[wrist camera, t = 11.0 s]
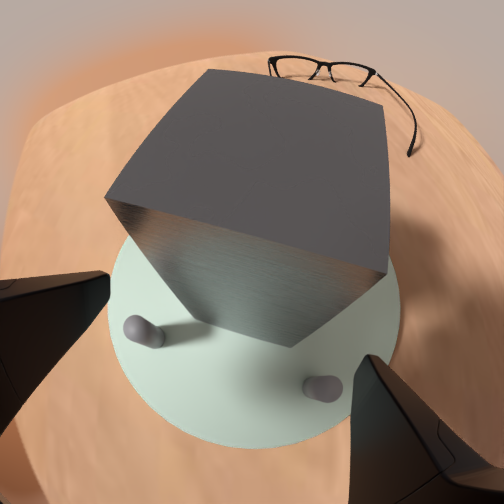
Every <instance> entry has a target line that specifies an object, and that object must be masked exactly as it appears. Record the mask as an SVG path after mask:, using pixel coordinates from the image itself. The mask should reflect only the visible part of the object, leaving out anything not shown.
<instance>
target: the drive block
mask: <svg viewBox="0 0 504 504" xmlns="http://www.w3.org/2000/svg"><path fill="white" fill-rule="evenodd" d="M104 198H105V199H106V201H107V202H108V204H109V206H110V207H111V209H112V210H113V212H114V213H115V215H116V216H117V218H118V219H119V221H120V222H121V223H122V225H123V226H124V228H125V229H126V231H127V232H128V234H129V235H130V236H131V238H132V239H133V241H134V242H135V243H136V245H137V246H138V248H139V249H140V250H141V252H142V253H143V254H144V256H145V257H146V258H147V260H148V261H149V262H150V264H151V265H152V266H153V268H154V269H155V270H156V272H157V273H158V274H159V276H160V277H161V278H162V279H163V281H164V282H165V283H166V285H167V286H168V287H169V288H170V290H171V291H172V292H173V293H174V295H175V296H176V297H177V298H178V300H179V301H180V302H181V303H182V304H183V306H184V307H185V308H186V309H187V311H188V312H189V313H190V314H191V315H192V316H193V318H194V319H196V320H199V321H202V322H205V323H208V324H211V325H214V326H217V327H220V328H223V329H226V330H229V331H232V332H236V333H239V334H242V335H245V336H249V337H252V338H256V339H259V340H262V341H266V342H270V343H273V344H277V345H281V346H284V347H288V348H292V347H293V346H295V345H296V344H298V343H299V342H300V341H302V340H303V339H305V338H306V337H308V336H309V335H310V334H312V333H313V332H315V331H316V330H317V329H319V328H320V327H322V326H323V325H324V324H326V323H327V322H328V321H330V320H331V319H332V318H334V317H335V316H336V315H338V314H339V313H340V312H342V311H343V310H344V309H345V308H347V307H348V306H349V305H351V304H352V303H353V302H354V301H356V300H357V299H358V298H359V297H361V296H362V295H363V294H364V293H366V292H367V291H368V290H369V289H370V288H372V287H373V286H374V285H375V284H376V283H378V282H379V281H380V280H381V279H382V278H383V277H385V276H386V275H387V273H388V260H389V240H390V179H389V161H388V147H387V136H386V127H385V119H384V111H383V106H382V105H379V104H377V103H374V102H371V101H368V100H365V99H362V98H359V97H356V96H353V95H349V94H346V93H343V92H339V91H336V90H332V89H328V88H325V87H321V86H317V85H312V84H308V83H304V82H299V81H294V80H289V79H284V78H279V77H273V76H267V75H261V74H254V73H246V72H238V71H228V70H216V69H208V70H207V71H206V72H205V73H204V74H203V75H202V76H201V77H200V78H199V79H198V80H197V81H196V82H195V83H194V84H193V85H192V86H191V87H190V88H189V89H188V90H187V91H186V92H185V93H184V94H183V96H182V97H181V98H180V99H179V100H178V101H177V102H176V103H175V104H174V105H173V107H172V108H171V109H170V110H169V111H168V112H167V113H166V115H165V116H164V117H163V118H162V119H161V120H160V122H159V123H158V124H157V125H156V126H155V128H154V129H153V130H152V131H151V133H150V134H149V135H148V136H147V138H146V139H145V140H144V141H143V143H142V144H141V145H140V147H139V148H138V149H137V150H136V152H135V153H134V155H133V156H132V157H131V159H130V160H129V161H128V163H127V164H126V166H125V167H124V168H123V170H122V171H121V173H120V174H119V176H118V177H117V178H116V180H115V181H114V183H113V184H112V186H111V187H110V189H109V191H108V192H107V194H106V195H105V197H104Z"/></svg>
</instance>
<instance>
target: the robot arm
mask: <svg viewBox="0 0 504 504" xmlns="http://www.w3.org/2000/svg"><path fill="white" fill-rule="evenodd" d="M110 295H111V281H110V275H109V274H108V273H105V272H103V271H100V270H99V271H89V272H79V273H69V274H59V275H49V276H39V277H29V278H19V279H9V280H0V436H1V435H2V433H3V432H4V430H5V429H6V428H7V426H8V425H9V423H10V422H11V421H12V419H13V418H14V417H15V415H16V414H17V413H18V411H19V410H20V409H21V407H22V406H23V405H24V403H25V402H26V401H27V399H28V398H29V397H30V396H31V394H32V393H33V392H34V390H35V389H36V388H37V387H38V385H39V384H40V383H41V382H42V381H43V379H44V378H45V377H46V376H47V375H48V373H49V372H50V371H51V370H52V369H53V367H54V366H55V365H56V364H57V363H58V361H59V360H60V359H61V358H62V357H63V356H64V355H65V353H66V352H67V351H68V350H69V349H70V348H71V347H72V345H73V344H74V343H75V342H76V341H77V340H78V339H79V338H80V337H81V335H82V334H83V333H84V332H85V331H86V330H87V329H88V327H89V326H90V325H91V323H92V322H93V321H94V319H95V318H96V317H97V315H98V314H99V313H100V311H101V310H102V309H103V307H104V306H105V305H106V304H107V302H108V301H109V299H110ZM350 426H351V455H350V485H349V501H348V504H504V469H501V468H497V467H494V466H493V465H491V464H489V463H488V462H487V461H486V460H484V459H483V458H482V457H481V456H480V455H479V454H478V453H476V452H475V451H474V450H473V449H472V448H471V447H470V446H468V445H467V444H466V443H465V442H464V441H463V440H462V439H461V438H460V437H458V436H457V435H456V434H455V433H454V432H453V431H452V430H451V429H450V428H449V427H448V426H447V425H446V424H445V423H444V422H443V421H442V420H441V419H439V417H438V416H437V415H436V414H435V413H434V412H433V410H432V409H431V408H430V407H429V406H428V405H427V404H426V403H425V402H424V401H423V400H422V399H421V398H420V397H419V396H418V395H417V394H416V393H415V392H414V391H413V390H412V389H411V388H410V387H409V386H408V385H407V384H406V383H405V382H404V381H403V380H402V379H401V378H400V377H399V376H398V375H397V374H396V373H395V372H394V371H393V370H392V369H391V368H390V367H389V366H388V365H387V364H386V363H385V362H384V361H383V360H382V359H381V358H380V357H379V356H377V355H372V354H367V355H365V356H364V358H363V360H362V361H361V363H360V365H359V367H358V368H357V370H356V372H355V374H354V378H353V392H352V404H351V416H350ZM0 504H11V503H10V502H9V501H8V500H7V499H6V498H5V497H4V496H3V495H2V494H1V493H0Z"/></svg>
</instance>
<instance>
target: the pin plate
mask: <svg viewBox="0 0 504 504" xmlns="http://www.w3.org/2000/svg"><path fill="white" fill-rule="evenodd" d="M110 281H111V295H110V299H109V301H108V321H109V328H110V335H111V339H112V343H113V346H114V349H115V353H116V356H117V358H118V360H119V362H120V364H121V367H122V369H123V371H124V373H125V375H126V376H127V378H128V379H129V381H130V383H131V384H132V386H133V387H134V389H135V390H136V391H137V393H138V394H139V395H140V396H141V397H142V398H143V399H144V401H145V402H146V403H147V404H148V405H149V406H150V407H151V408H152V409H153V410H154V411H156V412H157V413H158V414H159V415H160V416H162V417H163V418H164V419H165V420H166V421H168V422H170V423H171V424H173V425H174V426H176V427H178V428H179V429H181V430H183V431H184V432H186V433H188V434H191V435H193V436H195V437H198V438H200V439H203V440H205V441H208V442H212V443H215V444H219V445H223V446H228V447H236V448H246V449H262V448H276V447H281V446H286V445H291V444H295V443H298V442H301V441H304V440H307V439H309V438H312V437H315V436H317V435H319V434H321V433H323V432H325V431H327V430H328V429H330V428H332V427H334V426H336V425H337V424H338V423H340V422H341V421H342V420H344V419H345V418H346V417H348V416H349V415H350V414H351V404H352V392H353V378H354V374H355V372H356V370H357V368H358V367H359V365H360V363H361V361H362V360H363V358H364V356H365V355H367V354H372V355H377V356H379V357H380V358H381V359H382V360H383V361H384V362H385V363H386V364H387V365H388V364H389V362H390V359H391V357H392V354H393V351H394V348H395V345H396V341H397V336H398V331H399V324H400V295H399V287H398V282H397V278H396V273H395V270H394V267H393V264H392V261H391V259H390V256H389V260H388V273H387V275H386V276H385V277H383V278H382V279H381V280H380V281H379V282H378V283H376V284H375V285H374V286H373V287H372V288H370V289H369V290H368V291H367V292H366V293H364V294H363V295H362V296H361V297H359V298H358V299H357V300H356V301H354V302H353V303H352V304H351V305H349V306H348V307H347V308H345V309H344V310H343V311H342V312H340V313H339V314H338V315H336V316H335V317H334V318H332V319H331V320H330V321H328V322H327V323H326V324H324V325H323V326H322V327H320V328H319V329H317V330H316V331H315V332H313V333H312V334H310V335H309V336H308V337H306V338H305V339H303V340H302V341H300V342H299V343H298V344H296V345H295V346H293V347H292V348H288V347H284V346H281V345H277V344H273V343H270V342H266V341H262V340H259V339H256V338H252V337H249V336H245V335H242V334H239V333H236V332H232V331H229V330H226V329H223V328H220V327H217V326H214V325H211V324H208V323H205V322H202V321H199V320H196V319H194V318H193V316H192V315H191V314H190V313H189V312H188V311H187V309H186V308H185V307H184V306H183V304H182V303H181V302H180V301H179V300H178V298H177V297H176V296H175V295H174V293H173V292H172V291H171V290H170V288H169V287H168V286H167V285H166V283H165V282H164V281H163V279H162V278H161V277H160V276H159V274H158V273H157V272H156V270H155V269H154V268H153V266H152V265H151V264H150V262H149V261H148V260H147V258H146V257H145V256H144V254H143V253H142V252H141V250H140V249H139V248H138V246H137V245H136V243H135V242H134V241H133V239H132V238H131V236H130V235H129V236H128V237H127V239H126V241H125V243H124V244H123V246H122V248H121V250H120V253H119V255H118V257H117V260H116V262H115V265H114V269H113V272H112V276H111V280H110Z"/></svg>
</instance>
